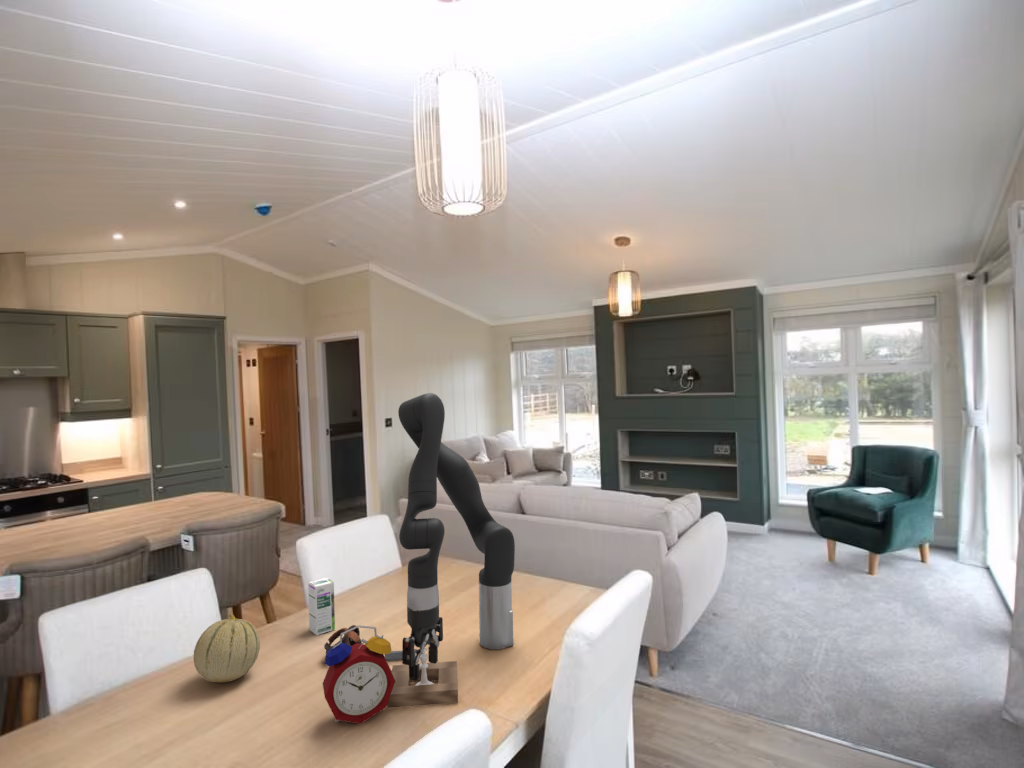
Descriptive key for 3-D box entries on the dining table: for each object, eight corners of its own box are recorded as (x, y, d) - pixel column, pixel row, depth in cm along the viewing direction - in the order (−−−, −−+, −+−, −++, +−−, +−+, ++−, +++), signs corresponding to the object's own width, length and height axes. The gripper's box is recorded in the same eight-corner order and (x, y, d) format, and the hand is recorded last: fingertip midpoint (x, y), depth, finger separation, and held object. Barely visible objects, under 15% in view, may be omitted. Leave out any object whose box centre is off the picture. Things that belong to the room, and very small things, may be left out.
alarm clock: (325, 733, 114) (324, 638, 114) (322, 710, 122) (320, 621, 122) (396, 715, 120) (394, 624, 120) (388, 695, 128) (387, 610, 128)
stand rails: (415, 657, 146) (415, 649, 146) (412, 679, 135) (412, 671, 135) (385, 659, 145) (385, 651, 145) (379, 681, 134) (379, 673, 134)
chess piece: (409, 692, 129) (409, 650, 129) (421, 681, 134) (421, 641, 134) (427, 697, 127) (426, 654, 127) (438, 686, 132) (438, 644, 132)
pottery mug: (362, 666, 142) (344, 642, 141) (332, 680, 144) (314, 656, 142) (375, 634, 154) (359, 612, 152) (347, 647, 155) (331, 625, 154)
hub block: (457, 672, 138) (457, 660, 138) (458, 702, 125) (457, 689, 125) (392, 677, 136) (392, 665, 136) (386, 708, 123) (386, 694, 123)
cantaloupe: (192, 702, 126) (191, 637, 126) (195, 672, 139) (194, 614, 139) (262, 685, 133) (261, 623, 133) (259, 658, 146) (258, 602, 146)
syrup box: (316, 636, 159) (315, 586, 159) (308, 629, 163) (308, 581, 163) (335, 630, 163) (334, 581, 163) (327, 623, 167) (326, 576, 167)
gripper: (425, 589, 138) (426, 654, 138) (392, 611, 125) (392, 682, 125) (451, 594, 135) (452, 659, 135) (419, 616, 122) (420, 689, 122)
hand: (423, 670), depth 130 cm, fingers open, 8 cm apart
